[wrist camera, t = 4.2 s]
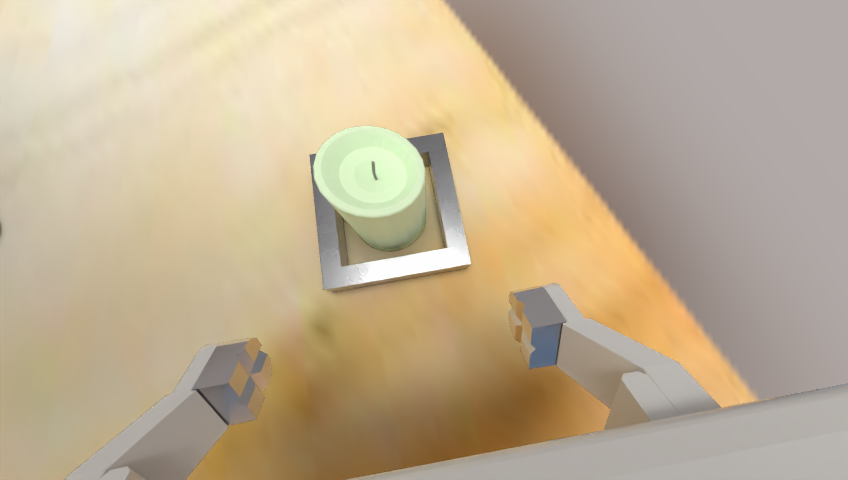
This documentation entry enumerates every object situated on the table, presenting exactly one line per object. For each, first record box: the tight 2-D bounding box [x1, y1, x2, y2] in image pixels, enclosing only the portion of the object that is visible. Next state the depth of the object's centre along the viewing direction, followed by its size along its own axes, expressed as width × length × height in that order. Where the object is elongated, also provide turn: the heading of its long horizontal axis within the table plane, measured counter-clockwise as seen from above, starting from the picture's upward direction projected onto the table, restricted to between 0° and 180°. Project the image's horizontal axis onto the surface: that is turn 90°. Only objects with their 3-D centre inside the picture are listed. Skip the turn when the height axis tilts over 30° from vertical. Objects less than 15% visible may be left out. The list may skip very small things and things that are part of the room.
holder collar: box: [310, 133, 471, 292], centre depth 21 cm, size 9×9×2 cm
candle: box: [313, 126, 426, 251], centre depth 18 cm, size 5×5×8 cm
